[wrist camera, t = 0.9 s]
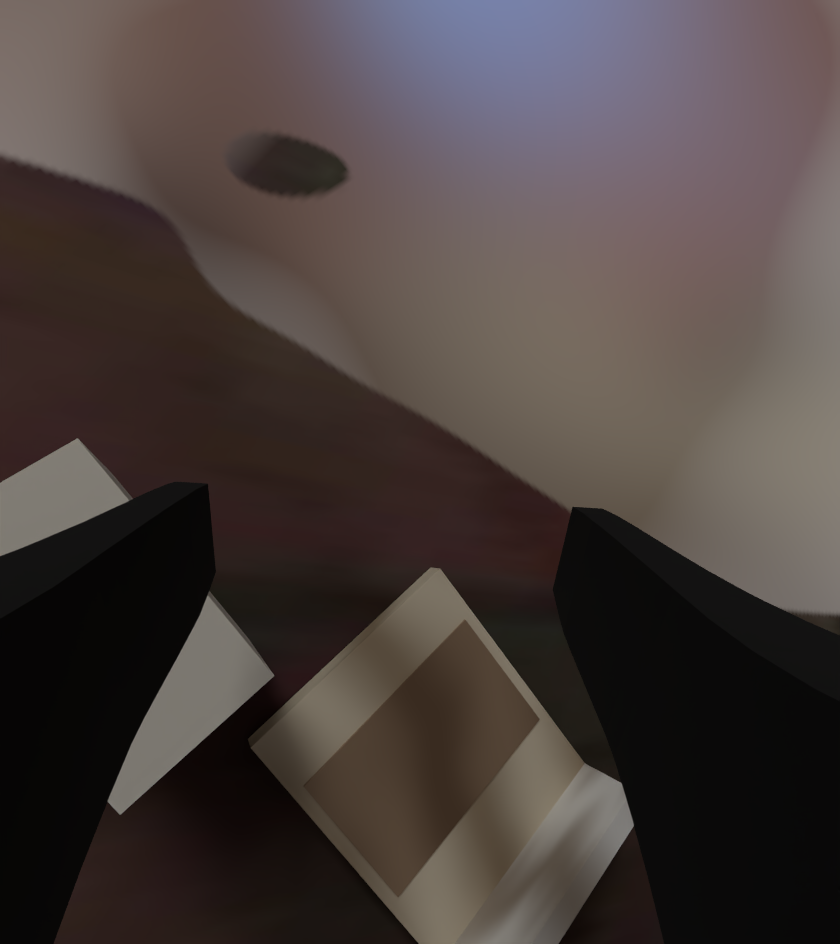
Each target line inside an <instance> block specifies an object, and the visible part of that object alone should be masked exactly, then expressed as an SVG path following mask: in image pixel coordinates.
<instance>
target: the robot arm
mask: <svg viewBox="0 0 840 944" xmlns="http://www.w3.org/2000/svg"><path fill="white" fill-rule="evenodd" d="M215 573H216V569H215V558H214V547H213V536H212V525H211V514H210V502H209V491H208V484H203V483H187V482H173V483H170V484H167V485H164V486H162V487H159V488H157V489H154V490H152V491H150V492H147V493H145V494H143V495H141V496H139V497H136V498H134V499H132V500H130V501H128V502H126V503H123V504H121V505H119V506H117V507H115V508H113V509H110V510H108V511H106V512H104V513H102V514H100V515H97V516H95V517H93V518H91V519H89V520H87V521H84V522H82V523H80V524H77V525H75V526H73V527H70V528H68V529H66V530H63V531H61V532H59V533H56V534H54V535H51V536H49V537H47V538H44V539H42V540H40V541H37V542H35V543H32V544H30V545H28V546H25V547H23V548H20V549H18V550H15V551H12V552H10V553H7V554H5V555H2V556H0V944H53V943H54V941H55V938H56V935H57V932H58V930H59V927H60V924H61V921H62V919H63V916H64V913H65V911H66V908H67V905H68V902H69V900H70V897H71V894H72V892H73V889H74V886H75V883H76V881H77V878H78V875H79V872H80V870H81V867H82V865H83V862H84V860H85V857H86V854H87V852H88V849H89V847H90V844H91V842H92V839H93V837H94V834H95V832H96V829H97V827H98V824H99V821H100V819H101V816H102V814H103V811H104V809H105V806H106V804H107V801H108V799H109V796H110V794H111V792H112V789H113V787H114V785H115V782H116V780H117V777H118V775H119V773H120V770H121V768H122V765H123V763H124V761H125V758H126V756H127V754H128V751H129V749H130V746H131V744H132V742H133V740H134V738H135V736H136V734H137V732H138V730H139V728H140V726H141V724H142V722H143V720H144V718H145V716H146V714H147V712H148V710H149V709H150V707H151V705H152V703H153V701H154V699H155V698H156V696H157V694H158V692H159V690H160V688H161V687H162V685H163V683H164V681H165V679H166V677H167V676H168V674H169V672H170V670H171V668H172V666H173V665H174V663H175V661H176V659H177V657H178V655H179V654H180V652H181V650H182V648H183V646H184V644H185V643H186V641H187V639H188V637H189V635H190V633H191V631H192V629H193V628H194V626H195V624H196V622H197V620H198V618H199V616H200V614H201V611H202V608H203V606H204V603H205V601H206V598H207V595H208V593H209V590H210V587H211V584H212V581H213V578H214V575H215ZM553 592H554V596H555V601H556V605H557V609H558V614H559V617H560V621H561V625H562V628H563V632H564V635H565V637H566V640H567V643H568V645H569V648H570V650H571V653H572V655H573V657H574V660H575V662H576V665H577V667H578V670H579V672H580V675H581V677H582V679H583V682H584V684H585V687H586V689H587V691H588V694H589V696H590V699H591V701H592V703H593V706H594V708H595V711H596V713H597V715H598V718H599V720H600V723H601V725H602V727H603V730H604V732H605V735H606V737H607V740H608V743H609V746H610V748H611V751H612V754H613V757H614V760H615V763H616V766H617V769H618V773H619V776H620V779H621V783H622V786H623V789H624V793H625V796H626V800H627V803H628V806H629V810H630V813H631V816H632V820H633V824H634V827H635V831H636V835H637V838H638V842H639V846H640V849H641V853H642V857H643V860H644V864H645V868H646V871H647V875H648V879H649V883H650V887H651V891H652V895H653V899H654V903H655V907H656V911H657V915H658V920H659V924H660V928H661V932H662V936H663V940H664V944H840V635H837V634H835V633H832V632H830V631H828V630H825V629H823V628H821V627H818V626H816V625H814V624H812V623H809V622H807V621H805V620H803V619H801V618H799V617H796V616H794V615H792V614H790V613H788V612H786V611H784V610H782V609H780V608H778V607H775V606H773V605H771V604H769V603H767V602H765V601H763V600H761V599H759V598H757V597H755V596H753V595H751V594H749V593H747V592H745V591H744V590H742V589H740V588H738V587H736V586H734V585H733V584H731V583H729V582H727V581H725V580H724V579H722V578H720V577H718V576H716V575H715V574H713V573H711V572H709V571H707V570H706V569H704V568H702V567H701V566H699V565H697V564H696V563H694V562H692V561H691V560H689V559H687V558H686V557H684V556H682V555H681V554H679V553H677V552H676V551H674V550H672V549H671V548H669V547H667V546H666V545H664V544H663V543H661V542H659V541H658V540H656V539H655V538H653V537H651V536H650V535H648V534H647V533H645V532H643V531H642V530H640V529H639V528H637V527H635V526H634V525H632V524H630V523H628V522H627V521H625V520H623V519H622V518H620V517H618V516H616V515H614V514H612V513H610V512H608V511H606V510H604V509H598V508H582V507H573V508H572V512H571V516H570V520H569V524H568V529H567V533H566V537H565V541H564V545H563V549H562V554H561V558H560V562H559V566H558V570H557V574H556V579H555V583H554V587H553Z"/></svg>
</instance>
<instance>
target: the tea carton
mask: <svg viewBox="0 0 840 944" xmlns="http://www.w3.org/2000/svg"><path fill="white" fill-rule="evenodd" d="M132 499H133V498H132V497H131V496H130V495H129V493H128V492H127V491H126V490H125V489H124V487H123V486H122V485H121V484H120V483H119V481H118V480H117V479H116V478H115V477H114V475H113V474H112V473H111V472H110V471H109V470H108V469H107V468H106V467H105V466H104V465H103V464H102V463H101V462H100V461H99V460H98V459H97V458H96V457H95V456H94V455H93V454H92V453H91V452H90V451H89V450H88V448H87V447H86V446H85V445H84V444H83V443H82V442H81V441H80V440H79V439H78V438H77V439H76V440H74V441H72V442H70V443H69V444H67V445H65V446H64V447H62V448H60V449H58V450H57V451H55V452H53V453H51V454H50V455H48V456H46V457H44V458H43V459H41V460H39V461H37V462H36V463H34V464H32V465H30V466H29V467H27V468H25V469H23V470H22V471H20V472H18V473H16V474H15V475H13V476H11V477H10V478H8V479H6V480H4V481H3V482H1V483H0V556H2V555H5V554H7V553H10V552H12V551H15V550H18V549H20V548H23V547H25V546H28V545H30V544H32V543H35V542H37V541H40V540H42V539H44V538H47V537H49V536H51V535H54V534H56V533H59V532H61V531H63V530H66V529H68V528H70V527H73V526H75V525H77V524H80V523H82V522H84V521H87V520H89V519H91V518H93V517H95V516H97V515H100V514H102V513H104V512H106V511H108V510H110V509H113V508H115V507H117V506H119V505H121V504H123V503H126V502H128V501H130V500H132ZM272 677H274V674H273V673H272V672H271V670H270V669H269V667H268V666H267V664H266V663H265V662H264V660H263V659H262V657H261V656H260V654H259V653H258V652H257V650H256V649H255V647H254V646H253V644H252V643H251V642H250V640H249V639H248V637H247V636H246V635H245V634H244V633H243V631H242V630H241V629H240V628H239V626H238V625H237V624H236V623H235V622H234V620H233V619H232V618H231V617H230V616H229V614H228V613H227V612H226V611H225V610H224V608H223V607H222V606H221V605H220V604H219V602H218V601H217V600H216V599H215V597H214V596H213V595H212V594H211V593H210V591H209V593H208V595H207V598H206V601H205V603H204V606H203V608H202V611H201V614H200V616H199V618H198V620H197V622H196V624H195V626H194V628H193V629H192V631H191V633H190V635H189V637H188V639H187V641H186V643H185V644H184V646H183V648H182V650H181V652H180V654H179V655H178V657H177V659H176V661H175V663H174V665H173V666H172V668H171V670H170V672H169V674H168V676H167V677H166V679H165V681H164V683H163V685H162V687H161V688H160V690H159V692H158V694H157V696H156V698H155V699H154V701H153V703H152V705H151V707H150V709H149V710H148V712H147V714H146V716H145V718H144V720H143V722H142V724H141V726H140V728H139V730H138V732H137V734H136V736H135V738H134V740H133V742H132V744H131V746H130V749H129V751H128V754H127V756H126V758H125V761H124V763H123V765H122V768H121V770H120V773H119V775H118V777H117V780H116V782H115V785H114V787H113V789H112V792H111V794H110V796H109V799H108V802H109V804H110V805H111V806H112V807H113V808H114V809H115V810H116V811H117V812H118V813H119V814H120V815H121V814H122V813H123V812H124V811H125V810H126V809H127V808H128V807H129V806H131V805H132V804H133V803H134V802H135V801H136V800H137V799H138V798H139V797H140V796H142V795H143V794H144V793H145V792H146V791H147V790H148V789H149V788H150V787H152V786H153V785H154V784H155V783H156V782H157V781H158V780H159V779H160V778H162V777H163V776H164V775H165V774H166V773H167V772H168V771H169V770H170V769H172V768H173V767H174V766H175V765H176V764H177V763H178V762H179V761H180V760H182V759H183V758H184V757H185V756H186V755H187V754H188V753H189V752H190V751H192V750H193V749H194V748H195V747H196V746H197V745H198V744H199V743H200V742H201V741H203V740H204V739H205V738H206V737H207V736H208V735H209V734H210V733H211V732H213V731H214V730H215V729H216V728H217V727H218V726H219V725H220V724H221V723H223V722H224V721H225V720H226V719H227V718H228V717H229V716H230V715H231V714H233V713H234V712H235V711H236V710H237V709H238V708H239V707H240V706H241V705H243V704H244V703H245V702H246V701H247V700H248V699H249V698H250V697H251V696H252V695H254V694H255V693H256V692H257V691H258V690H259V689H260V688H261V687H262V686H264V685H265V684H266V683H267V682H268V681H269V680H270V679H271V678H272Z"/></svg>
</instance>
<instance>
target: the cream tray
mask: <svg viewBox="0 0 840 944" xmlns="http://www.w3.org/2000/svg"><path fill="white" fill-rule="evenodd" d="M248 741H249V744H250V747H251V749H252V750H253V751H254V752H255V754H256V755H257V756H258V757H259V758H260V759H261V761H262V762H263V763H264V764H265V765H266V766H267V767H268V769H269V770H270V771H271V772H272V773H273V774H274V776H275V777H276V778H277V779H278V780H279V781H280V783H281V784H282V785H283V786H284V787H285V788H286V790H287V791H288V792H289V793H290V794H291V795H292V797H293V798H294V799H295V800H296V801H297V802H298V804H299V805H300V806H301V807H302V808H303V809H304V811H305V812H306V813H307V814H308V815H309V816H310V818H311V819H312V820H313V821H314V822H315V823H316V825H317V826H318V827H319V828H320V829H321V830H322V832H323V833H324V834H325V835H326V836H327V837H328V839H329V840H330V841H331V842H332V843H333V844H334V845H335V847H336V848H337V849H338V850H339V851H340V852H341V854H342V855H343V856H344V857H345V858H346V859H347V861H348V862H349V863H350V864H351V865H352V866H353V868H354V869H355V870H356V871H357V872H358V873H359V875H360V876H361V877H362V878H363V879H364V880H365V882H366V883H367V884H368V885H369V886H370V887H371V889H372V890H373V891H374V892H375V893H376V894H377V896H378V897H379V898H380V899H381V900H382V901H383V903H384V904H385V905H386V906H387V907H388V908H389V910H390V911H391V912H392V913H393V914H394V915H395V916H396V918H397V919H398V920H399V921H400V922H401V923H402V925H403V926H404V927H405V928H406V929H407V930H408V932H409V933H410V934H411V935H412V936H413V937H414V939H415V940H416V941H417V942H418V943H419V944H559V942H560V941H561V939H562V937H563V936H564V934H565V933H566V931H567V930H568V928H569V926H570V925H571V923H572V922H573V920H574V919H575V917H576V915H577V914H578V912H579V911H580V909H581V908H582V906H583V904H584V903H585V901H586V900H587V898H588V897H589V895H590V893H591V892H592V890H593V889H594V887H595V886H596V884H597V882H598V881H599V879H600V878H601V876H602V875H603V873H604V871H605V870H606V868H607V867H608V865H609V864H610V862H611V860H612V859H613V857H614V856H615V854H616V853H617V851H618V849H619V848H620V846H621V845H622V843H623V842H624V840H625V838H626V837H627V835H628V834H629V832H630V831H631V829H632V828H633V826H634V824H633V820H632V816H631V813H630V810H629V806H628V803H627V800H626V796H625V793H624V789H623V786H622V783H620V782H618V781H616V780H615V779H613V778H611V777H609V776H607V775H605V774H603V773H601V772H600V771H598V770H596V769H594V768H592V767H590V766H588V765H587V764H585V763H584V762H583V761H582V759H581V758H580V757H579V755H578V754H577V753H576V751H575V750H574V748H573V747H572V746H571V744H570V743H569V742H568V740H567V739H566V738H565V736H564V735H563V734H562V732H561V731H560V730H559V728H558V727H557V726H556V724H555V723H554V722H553V720H552V719H551V717H550V716H549V715H548V713H547V712H546V711H545V709H544V708H543V707H542V705H541V704H540V703H539V701H538V700H537V699H536V697H535V696H534V695H533V693H532V692H531V691H530V689H529V688H528V687H527V685H526V684H525V682H524V681H523V680H522V678H521V677H520V676H519V674H518V673H517V672H516V670H515V669H514V668H513V666H512V665H511V664H510V662H509V661H508V660H507V658H506V657H505V656H504V654H503V653H502V651H501V650H500V649H499V647H498V646H497V645H496V643H495V642H494V641H493V639H492V638H491V637H490V635H489V634H488V633H487V631H486V630H485V629H484V627H483V626H482V625H481V623H480V622H479V620H478V619H477V618H476V616H475V615H474V614H473V612H472V611H471V610H470V608H469V607H468V606H467V604H466V603H465V602H464V600H463V599H462V598H461V596H460V595H459V594H458V592H457V591H456V589H455V588H454V587H453V585H452V584H451V583H450V581H449V580H448V579H447V577H446V576H445V575H444V573H443V572H442V571H441V569H440V568H430V569H429V570H427V571H426V572H425V573H424V574H423V575H422V576H421V577H420V578H419V579H418V580H417V581H416V582H415V583H414V584H413V585H411V586H410V587H409V588H408V589H407V590H406V591H405V592H404V593H403V594H402V595H401V596H400V597H399V598H398V599H397V600H395V601H394V602H393V603H392V604H391V605H390V606H389V607H388V608H387V609H386V610H385V611H384V612H383V613H382V614H381V615H379V616H378V617H377V618H376V619H375V620H374V621H373V622H372V623H371V624H370V625H369V626H368V627H367V628H366V629H365V630H363V631H362V632H361V633H360V634H359V635H358V636H357V637H356V638H355V639H354V640H353V641H352V642H351V643H350V644H349V645H347V646H346V647H345V648H344V649H343V650H342V651H341V652H340V653H339V654H338V655H337V656H336V657H335V658H334V659H333V660H331V661H330V662H329V663H328V664H327V665H326V666H325V667H324V668H323V669H322V670H321V671H320V672H319V673H318V674H317V675H315V676H314V677H313V678H312V679H311V680H310V681H309V682H308V683H307V684H306V685H305V686H304V687H303V688H302V689H301V690H299V691H298V692H297V693H296V694H295V695H294V696H293V697H292V698H291V699H290V700H289V701H288V702H287V703H286V704H285V705H283V706H282V707H281V708H280V709H279V710H278V711H277V712H276V713H275V714H274V715H273V716H272V717H271V718H270V719H269V720H267V721H266V722H265V723H264V724H263V725H262V726H261V727H260V728H259V729H258V730H257V731H256V732H255V733H254V734H253V735H251V736H250V737H249V738H248Z"/></svg>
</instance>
